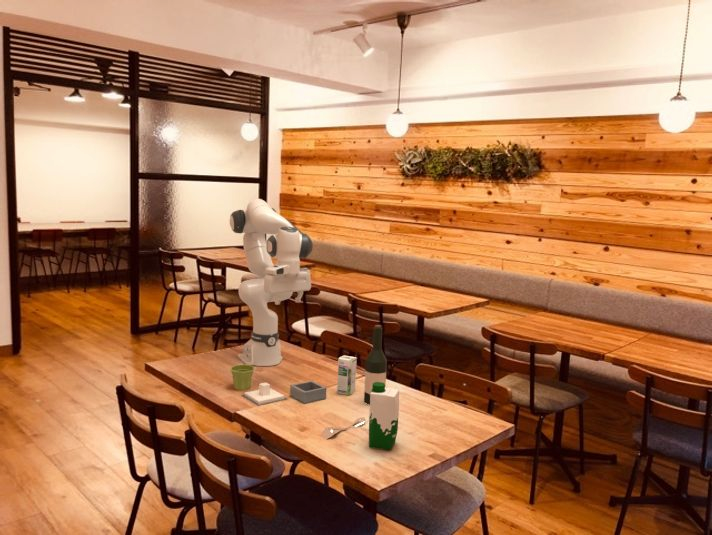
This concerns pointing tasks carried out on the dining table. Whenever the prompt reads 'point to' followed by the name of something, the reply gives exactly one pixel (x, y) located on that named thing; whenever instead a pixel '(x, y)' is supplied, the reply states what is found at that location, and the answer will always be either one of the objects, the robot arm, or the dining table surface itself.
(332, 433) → the silver spoon
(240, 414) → the dining table surface
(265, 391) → the lid
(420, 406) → the dining table surface
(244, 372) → the plant pot
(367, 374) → the wine bottle
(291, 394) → the dish
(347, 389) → the syrup box
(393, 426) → the milk carton
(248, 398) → the coaster
